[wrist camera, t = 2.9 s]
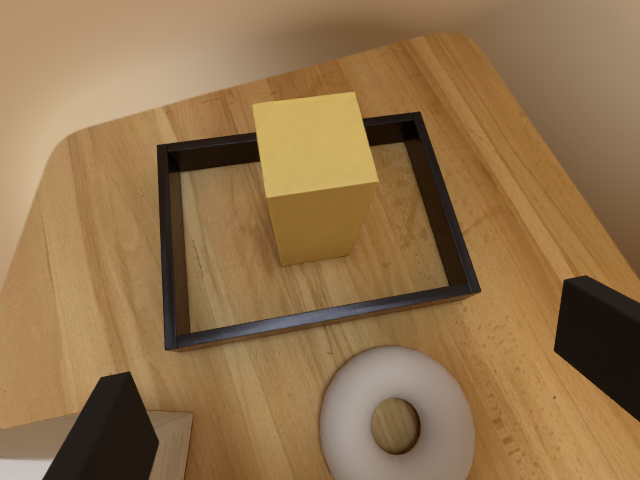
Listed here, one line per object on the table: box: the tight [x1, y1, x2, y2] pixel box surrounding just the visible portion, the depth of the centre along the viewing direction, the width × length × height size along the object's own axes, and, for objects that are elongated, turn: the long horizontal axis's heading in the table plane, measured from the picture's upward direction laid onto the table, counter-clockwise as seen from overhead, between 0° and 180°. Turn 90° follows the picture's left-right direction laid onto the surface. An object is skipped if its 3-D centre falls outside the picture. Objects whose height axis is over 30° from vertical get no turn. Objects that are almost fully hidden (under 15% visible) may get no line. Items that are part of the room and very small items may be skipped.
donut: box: [319, 345, 476, 480], centre depth 23 cm, size 10×3×10 cm
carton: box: [252, 92, 379, 266], centre depth 23 cm, size 6×6×12 cm
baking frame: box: [157, 112, 481, 352], centre depth 28 cm, size 22×16×3 cm
